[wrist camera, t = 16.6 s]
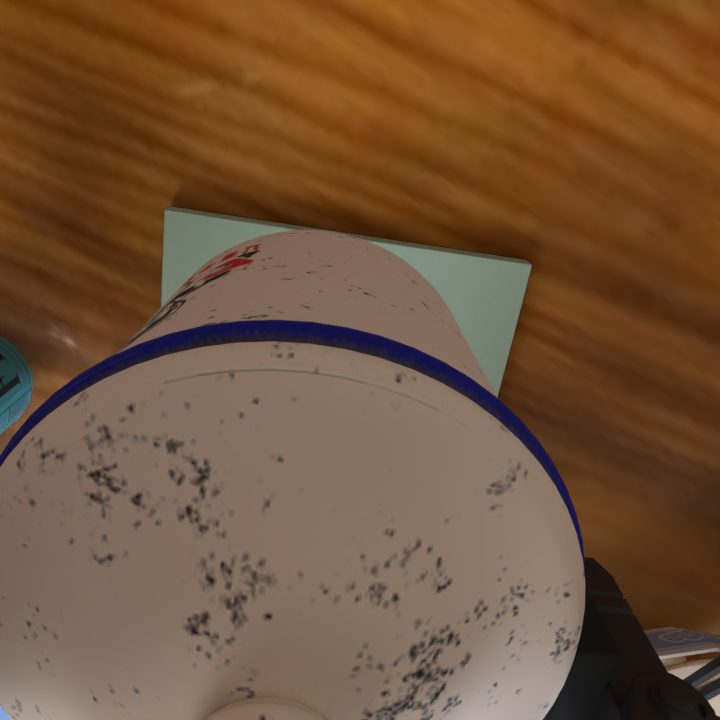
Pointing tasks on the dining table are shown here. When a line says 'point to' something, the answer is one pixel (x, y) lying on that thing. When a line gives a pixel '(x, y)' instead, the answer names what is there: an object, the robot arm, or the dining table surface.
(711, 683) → the ramen bowl
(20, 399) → the beverage bottle
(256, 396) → the teacup with lid
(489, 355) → the scale
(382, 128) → the dining table surface
